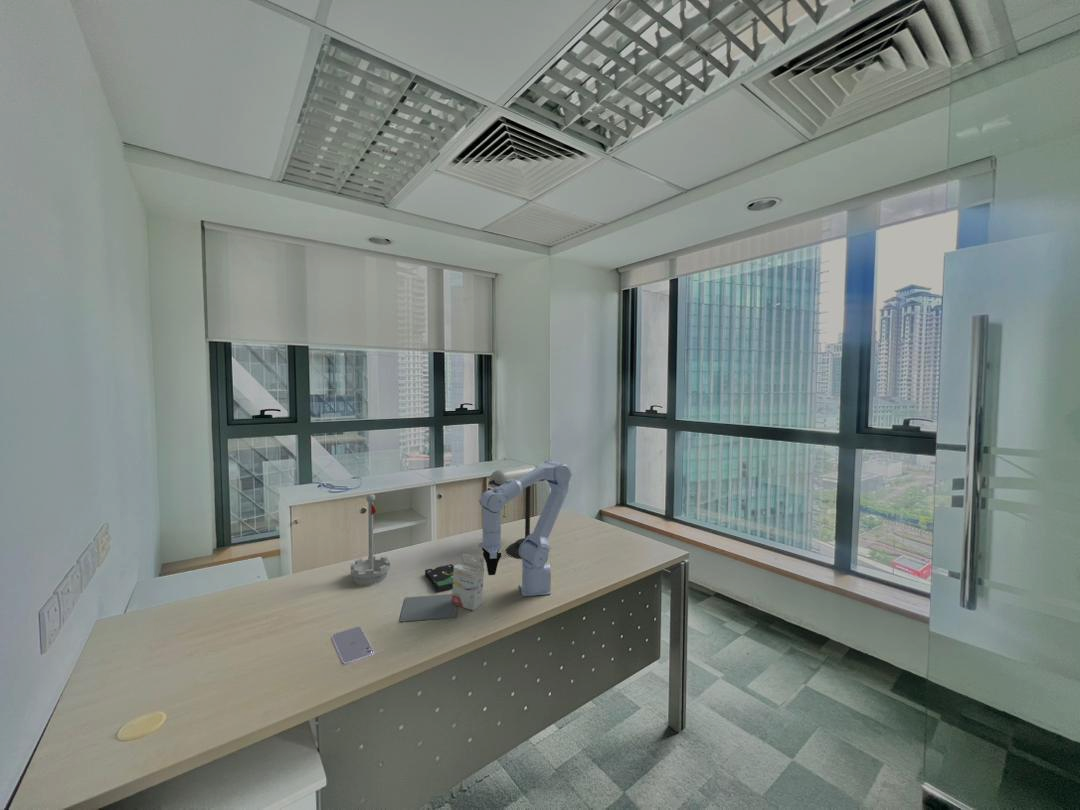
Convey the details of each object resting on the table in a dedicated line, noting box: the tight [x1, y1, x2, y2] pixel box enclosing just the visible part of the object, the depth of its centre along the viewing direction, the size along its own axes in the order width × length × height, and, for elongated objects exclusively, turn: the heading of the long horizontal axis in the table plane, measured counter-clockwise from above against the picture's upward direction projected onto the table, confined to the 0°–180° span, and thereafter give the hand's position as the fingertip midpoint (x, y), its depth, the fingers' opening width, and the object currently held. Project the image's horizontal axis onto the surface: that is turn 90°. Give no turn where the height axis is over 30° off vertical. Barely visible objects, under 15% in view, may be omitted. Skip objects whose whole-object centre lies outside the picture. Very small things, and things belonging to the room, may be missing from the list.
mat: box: [399, 593, 457, 623], centre depth 131 cm, size 16×14×1 cm
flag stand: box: [350, 493, 391, 586], centre depth 150 cm, size 13×13×30 cm
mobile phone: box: [331, 626, 375, 664], centre depth 112 cm, size 8×1×15 cm
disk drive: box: [424, 563, 455, 593], centre depth 150 cm, size 10×3×15 cm
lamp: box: [487, 464, 546, 559], centre depth 179 cm, size 26×24×34 cm
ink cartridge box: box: [451, 553, 485, 611], centre depth 133 cm, size 9×5×15 cm, turn 65°
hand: (491, 572), depth 134 cm, fingers open, 3 cm apart
